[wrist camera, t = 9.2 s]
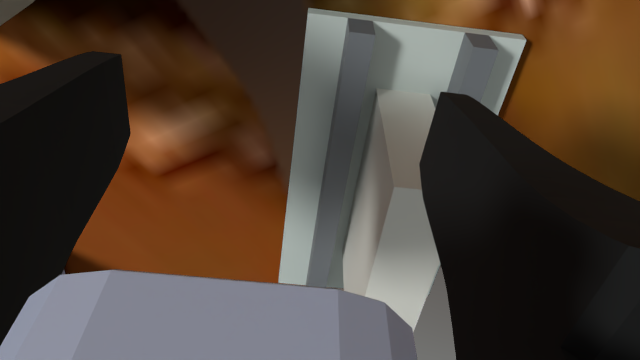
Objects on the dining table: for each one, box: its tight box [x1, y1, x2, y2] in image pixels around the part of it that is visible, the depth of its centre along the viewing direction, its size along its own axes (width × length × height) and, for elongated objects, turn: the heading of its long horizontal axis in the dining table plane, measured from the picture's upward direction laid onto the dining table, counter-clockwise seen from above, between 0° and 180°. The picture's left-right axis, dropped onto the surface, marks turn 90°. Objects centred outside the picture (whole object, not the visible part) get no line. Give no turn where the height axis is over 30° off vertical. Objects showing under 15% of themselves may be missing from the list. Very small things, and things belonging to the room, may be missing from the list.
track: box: [278, 8, 527, 296], centre depth 25 cm, size 9×16×2 cm, turn 173°
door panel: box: [342, 88, 440, 332], centre depth 22 cm, size 2×10×7 cm, turn 173°
